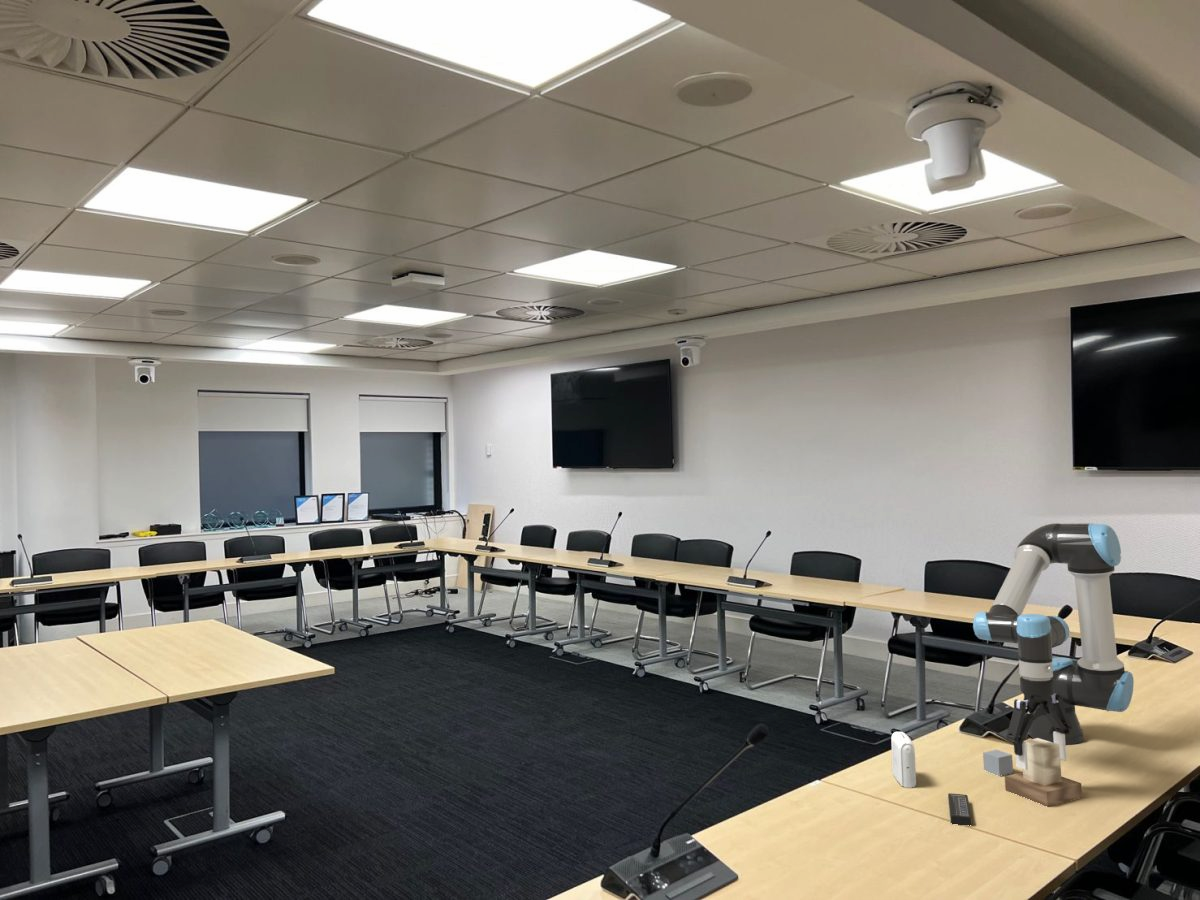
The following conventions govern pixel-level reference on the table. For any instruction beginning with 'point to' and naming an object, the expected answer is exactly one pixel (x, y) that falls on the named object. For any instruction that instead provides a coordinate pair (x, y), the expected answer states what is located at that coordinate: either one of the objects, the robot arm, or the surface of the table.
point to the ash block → (1043, 762)
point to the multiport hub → (959, 809)
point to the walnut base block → (1043, 790)
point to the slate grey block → (998, 762)
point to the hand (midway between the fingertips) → (1041, 763)
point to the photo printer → (903, 759)
